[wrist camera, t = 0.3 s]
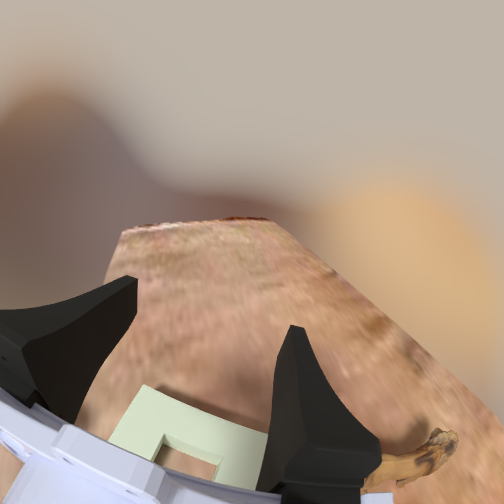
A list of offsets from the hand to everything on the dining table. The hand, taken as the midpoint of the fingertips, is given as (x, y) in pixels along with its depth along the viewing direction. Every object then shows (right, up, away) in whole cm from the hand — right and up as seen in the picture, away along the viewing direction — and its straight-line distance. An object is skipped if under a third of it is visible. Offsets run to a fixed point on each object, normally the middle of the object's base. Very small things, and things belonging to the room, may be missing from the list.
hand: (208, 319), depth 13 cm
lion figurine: (+17, -24, +12) cm, 31 cm away
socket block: (-5, -18, +8) cm, 21 cm away
